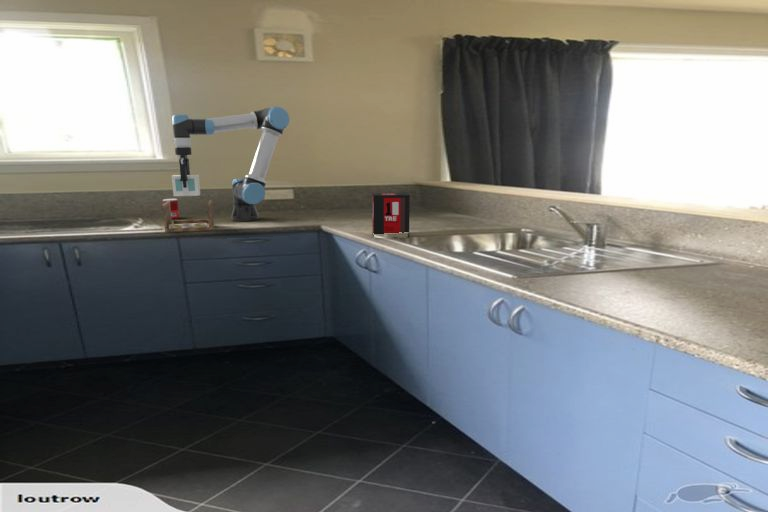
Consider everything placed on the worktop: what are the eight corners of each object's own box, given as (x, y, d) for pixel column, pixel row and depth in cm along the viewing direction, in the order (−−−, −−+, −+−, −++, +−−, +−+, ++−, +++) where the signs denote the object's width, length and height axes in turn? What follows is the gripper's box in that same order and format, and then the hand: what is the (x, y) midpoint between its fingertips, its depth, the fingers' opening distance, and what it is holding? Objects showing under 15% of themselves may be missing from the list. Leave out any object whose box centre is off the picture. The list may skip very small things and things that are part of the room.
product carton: (200, 194, 257) (198, 174, 254) (198, 195, 251) (197, 175, 248) (175, 194, 254) (173, 175, 252) (173, 196, 248) (171, 176, 246)
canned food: (181, 217, 293) (179, 198, 290) (174, 219, 285) (172, 200, 283) (169, 217, 294) (167, 198, 291) (162, 219, 286) (159, 200, 283)
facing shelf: (214, 225, 265) (212, 200, 262) (211, 230, 252) (209, 203, 249) (170, 227, 261) (167, 201, 258) (164, 231, 248) (162, 204, 244)
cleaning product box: (406, 234, 240) (407, 193, 236) (409, 238, 232) (409, 195, 227) (372, 235, 239) (372, 193, 234) (373, 238, 230) (373, 195, 226)
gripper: (178, 146, 255) (182, 191, 261) (171, 147, 237) (175, 195, 242) (193, 146, 257) (197, 191, 262) (187, 147, 239) (191, 195, 244)
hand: (187, 193), depth 252 cm, fingers closed on product carton, 6 cm apart
